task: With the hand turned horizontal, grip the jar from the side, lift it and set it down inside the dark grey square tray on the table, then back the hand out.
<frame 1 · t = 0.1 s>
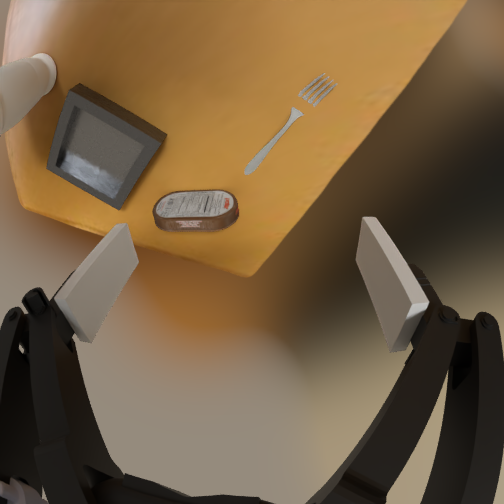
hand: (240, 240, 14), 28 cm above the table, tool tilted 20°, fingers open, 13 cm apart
tin: (198, 193, 48), on the table
fork: (277, 132, 38), on the table
dark grey square tray: (101, 146, 39), on the table
jar: (41, 74, 26), on the table
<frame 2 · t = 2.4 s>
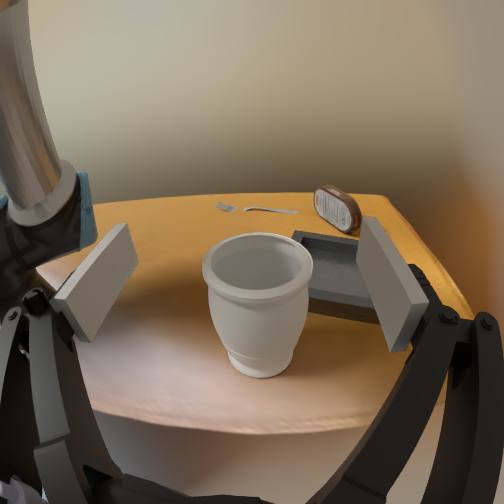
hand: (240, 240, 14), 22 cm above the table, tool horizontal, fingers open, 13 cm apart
tin: (333, 224, 62), on the table
fork: (263, 212, 69), on the table
dark grey square tray: (332, 277, 45), on the table
jar: (260, 352, 34), on the table
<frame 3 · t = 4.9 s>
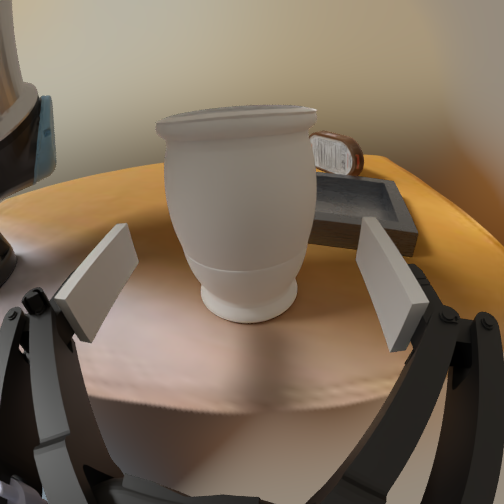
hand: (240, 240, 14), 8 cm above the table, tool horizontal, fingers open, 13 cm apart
tin: (331, 174, 52), on the table
dark grey square tray: (338, 213, 36), on the table
jar: (249, 291, 24), on the table
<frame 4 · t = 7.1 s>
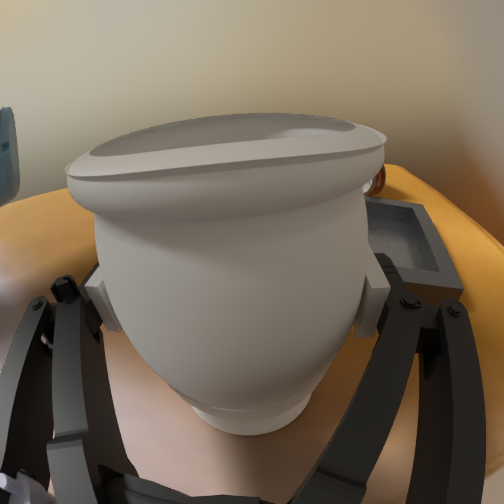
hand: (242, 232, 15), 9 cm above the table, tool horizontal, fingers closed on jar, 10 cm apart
tin: (346, 189, 45), on the table
dark grey square tray: (361, 249, 28), on the table
jar: (248, 381, 16), on the table, touching gripper
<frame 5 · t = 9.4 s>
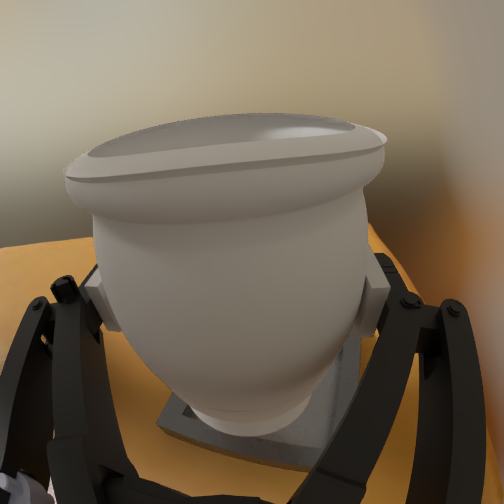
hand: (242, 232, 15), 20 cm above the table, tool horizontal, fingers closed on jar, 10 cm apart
dark grey square tray: (271, 389, 27), on the table
jar: (247, 381, 16), point 11 cm above the table, touching gripper
when the fingers open (11 cm above the table, at t = 12.1 s): jar drops 1 cm, resting on dark grey square tray.
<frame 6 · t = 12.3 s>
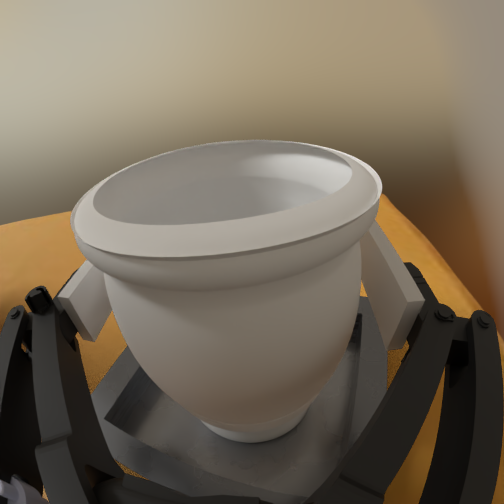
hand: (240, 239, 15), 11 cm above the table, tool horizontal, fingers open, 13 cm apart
dark grey square tray: (249, 393, 17), on the table
jar: (250, 390, 17), resting on dark grey square tray
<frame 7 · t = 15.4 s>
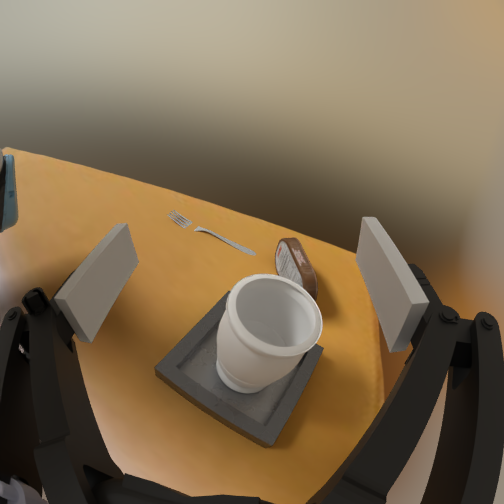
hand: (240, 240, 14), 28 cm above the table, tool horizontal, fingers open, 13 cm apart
tin: (286, 287, 53), on the table
fork: (216, 239, 59), on the table
dark grey square tray: (242, 368, 37), on the table
jar: (244, 368, 37), resting on dark grey square tray
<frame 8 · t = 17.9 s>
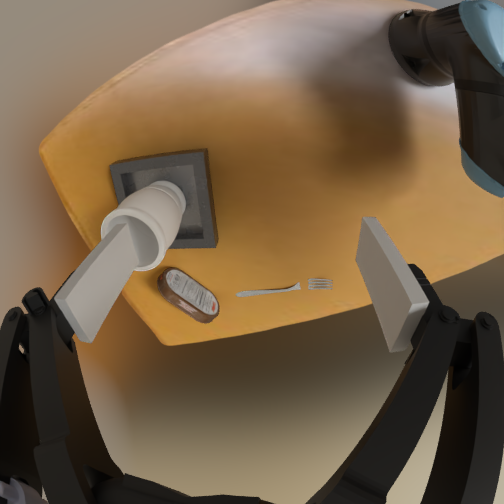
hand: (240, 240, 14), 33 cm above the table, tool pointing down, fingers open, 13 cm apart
tin: (194, 282, 60), on the table
fork: (276, 287, 59), on the table
dark grey square tray: (166, 199, 49), on the table
jar: (165, 200, 48), resting on dark grey square tray
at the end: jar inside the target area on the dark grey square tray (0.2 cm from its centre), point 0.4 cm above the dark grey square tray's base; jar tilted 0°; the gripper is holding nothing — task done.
